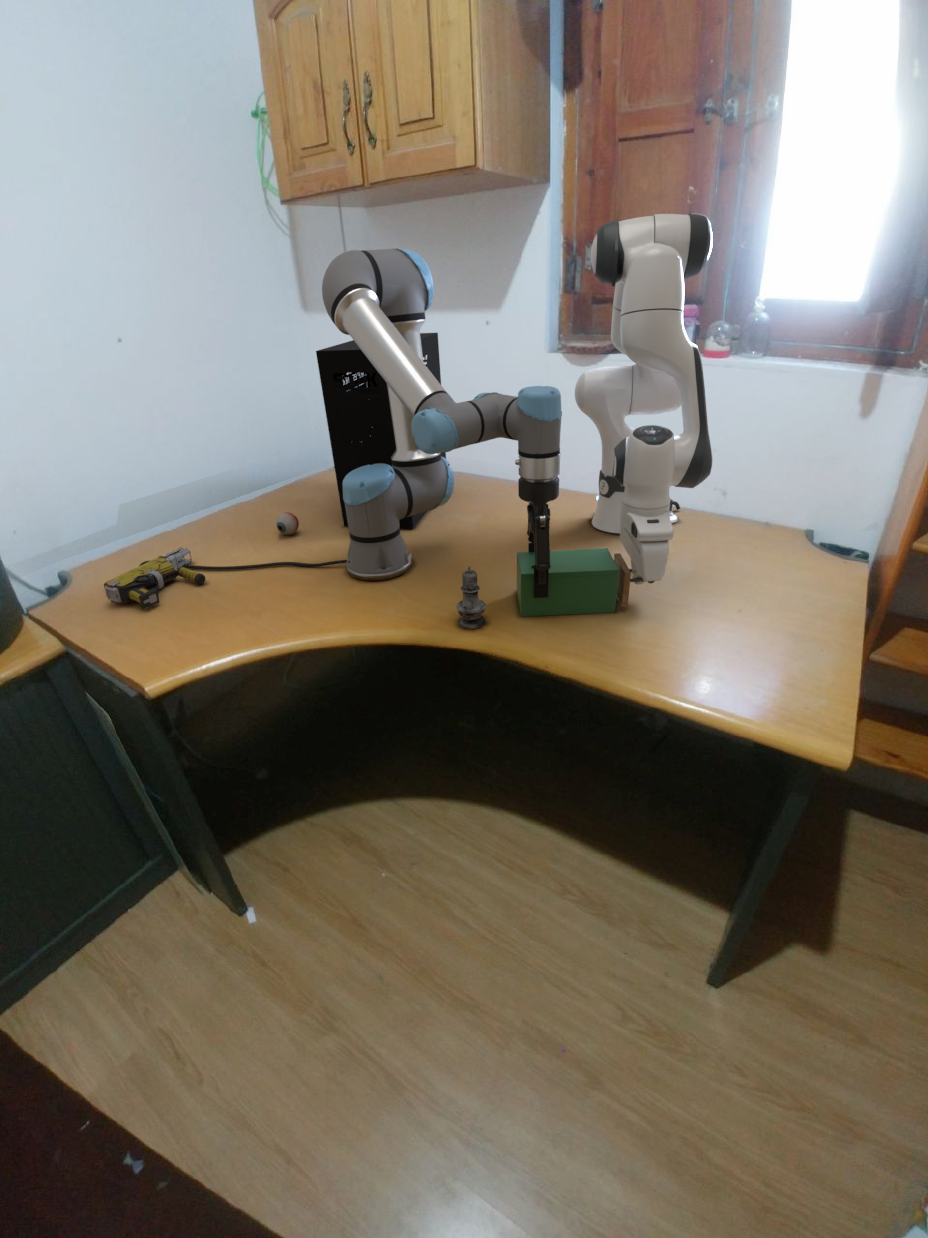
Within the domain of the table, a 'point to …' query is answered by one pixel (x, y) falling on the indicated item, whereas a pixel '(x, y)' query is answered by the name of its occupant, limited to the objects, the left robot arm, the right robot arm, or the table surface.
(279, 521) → the eyeball
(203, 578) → the toy gun
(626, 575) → the drawer
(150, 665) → the table surface
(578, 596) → the cabinet
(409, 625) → the table surface
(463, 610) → the grey chess piece
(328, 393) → the cardboard box
